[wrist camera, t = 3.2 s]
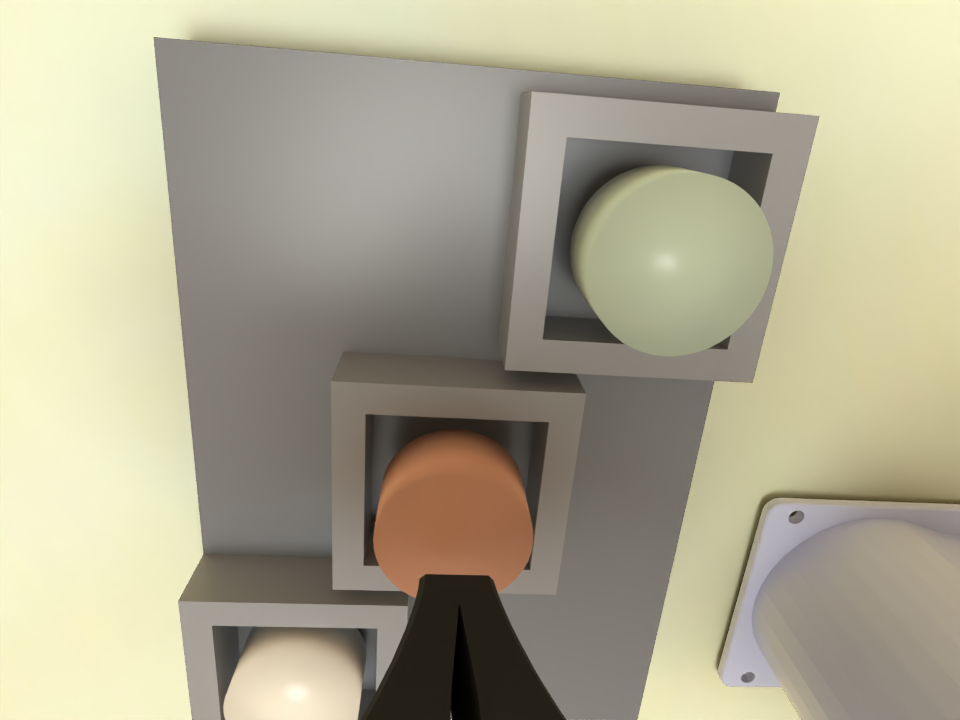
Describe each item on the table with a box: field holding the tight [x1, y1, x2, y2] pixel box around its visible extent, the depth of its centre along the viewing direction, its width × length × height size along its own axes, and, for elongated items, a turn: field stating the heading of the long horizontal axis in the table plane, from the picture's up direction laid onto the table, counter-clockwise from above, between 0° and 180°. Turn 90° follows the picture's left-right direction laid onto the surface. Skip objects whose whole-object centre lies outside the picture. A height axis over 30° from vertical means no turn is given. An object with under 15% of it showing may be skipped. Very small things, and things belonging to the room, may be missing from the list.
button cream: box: [223, 626, 367, 720], centre depth 18 cm, size 4×4×2 cm
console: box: [154, 37, 819, 720], centre depth 18 cm, size 14×20×4 cm
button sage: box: [570, 165, 773, 356], centre depth 13 cm, size 4×4×2 cm
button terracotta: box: [373, 429, 533, 598], centre depth 15 cm, size 4×4×2 cm
